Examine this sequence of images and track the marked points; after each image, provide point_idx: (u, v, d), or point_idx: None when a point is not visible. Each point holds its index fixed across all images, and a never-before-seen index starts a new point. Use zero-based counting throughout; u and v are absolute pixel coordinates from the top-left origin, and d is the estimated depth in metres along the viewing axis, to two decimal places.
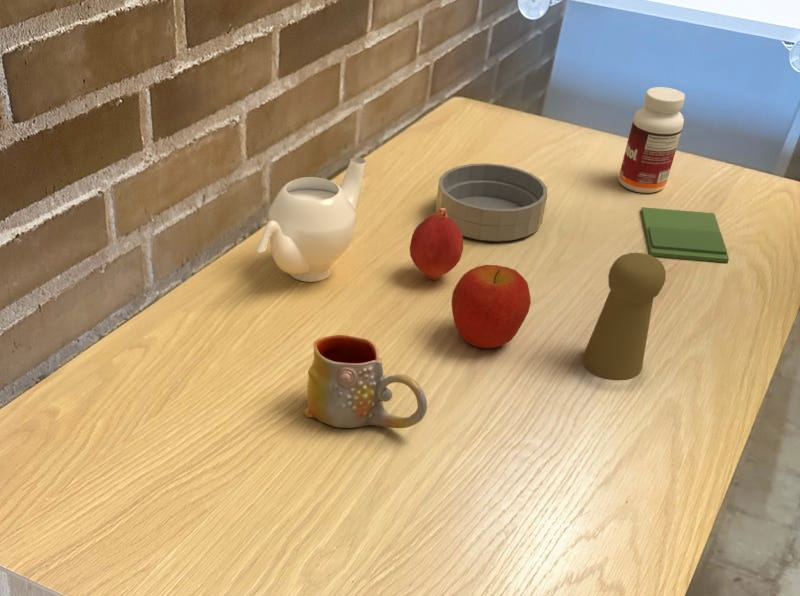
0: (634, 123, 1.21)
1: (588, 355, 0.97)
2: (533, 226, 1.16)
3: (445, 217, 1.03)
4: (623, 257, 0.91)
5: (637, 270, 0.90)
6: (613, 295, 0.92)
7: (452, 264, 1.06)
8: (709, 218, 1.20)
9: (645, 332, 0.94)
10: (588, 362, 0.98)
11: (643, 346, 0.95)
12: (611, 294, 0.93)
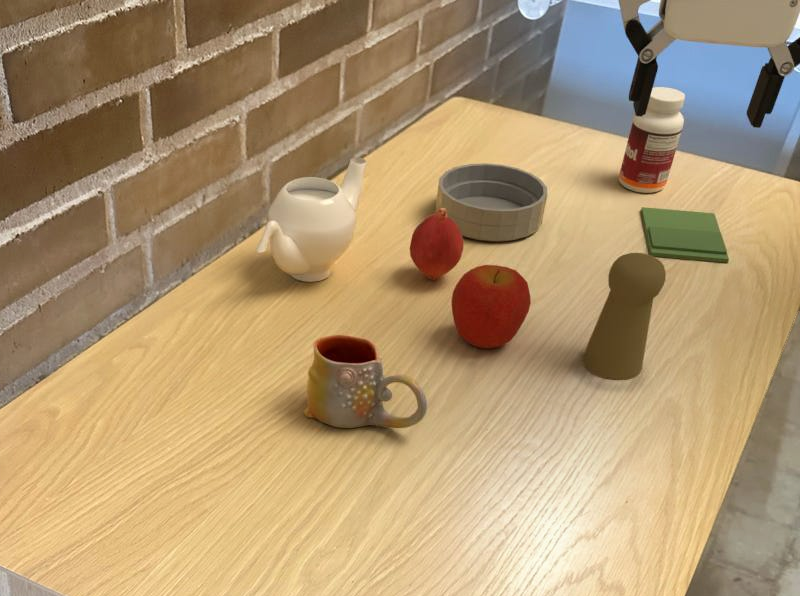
0: (634, 123, 1.21)
1: (588, 355, 0.97)
2: (533, 226, 1.16)
3: (445, 217, 1.03)
4: (623, 257, 0.91)
5: (637, 270, 0.90)
6: (613, 295, 0.92)
7: (452, 264, 1.06)
8: (709, 218, 1.20)
9: (645, 332, 0.94)
10: (588, 362, 0.98)
11: (643, 346, 0.95)
12: (611, 294, 0.93)
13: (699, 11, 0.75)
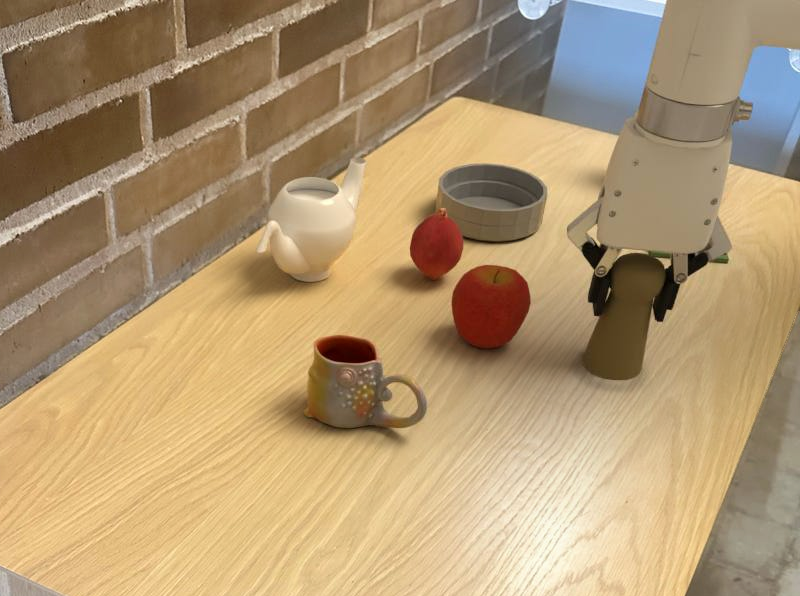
0: None
1: (588, 355, 0.97)
2: (533, 226, 1.16)
3: (445, 217, 1.03)
4: (623, 257, 0.91)
5: (637, 270, 0.90)
6: (613, 295, 0.92)
7: (452, 264, 1.06)
8: None
9: (645, 332, 0.94)
10: (588, 362, 0.98)
11: (643, 346, 0.95)
12: (611, 294, 0.93)
13: (626, 227, 0.86)
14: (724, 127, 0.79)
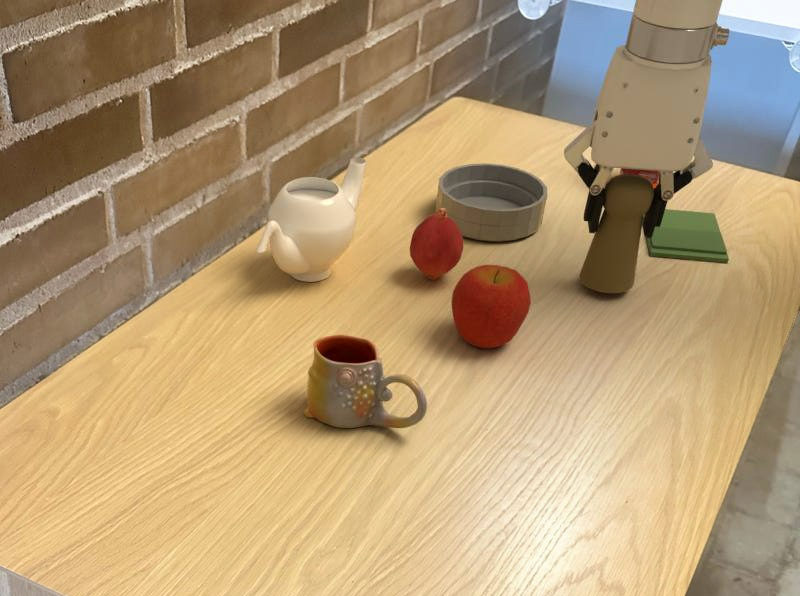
0: None
1: (585, 271, 1.07)
2: (533, 226, 1.16)
3: (445, 217, 1.03)
4: (615, 177, 1.01)
5: (628, 188, 0.99)
6: (606, 213, 1.02)
7: (452, 264, 1.06)
8: (709, 218, 1.20)
9: (636, 248, 1.04)
10: (584, 278, 1.07)
11: (634, 261, 1.05)
12: (605, 212, 1.02)
13: (617, 147, 0.96)
14: (704, 50, 0.89)
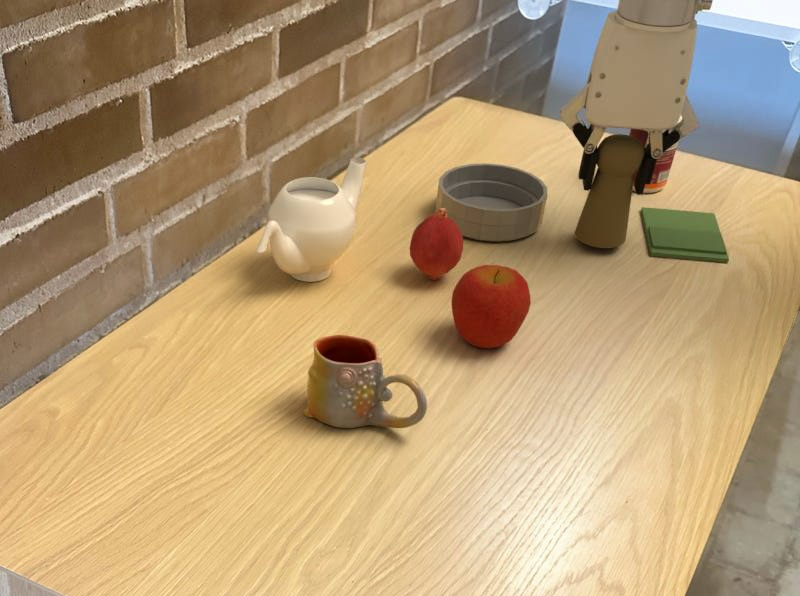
0: None
1: (580, 228, 1.14)
2: (533, 226, 1.16)
3: (445, 217, 1.03)
4: (608, 137, 1.07)
5: (620, 146, 1.06)
6: (600, 171, 1.09)
7: (452, 264, 1.06)
8: (709, 218, 1.20)
9: (628, 204, 1.11)
10: (579, 234, 1.14)
11: (626, 218, 1.12)
12: (598, 171, 1.09)
13: (610, 107, 1.03)
14: (689, 14, 0.96)
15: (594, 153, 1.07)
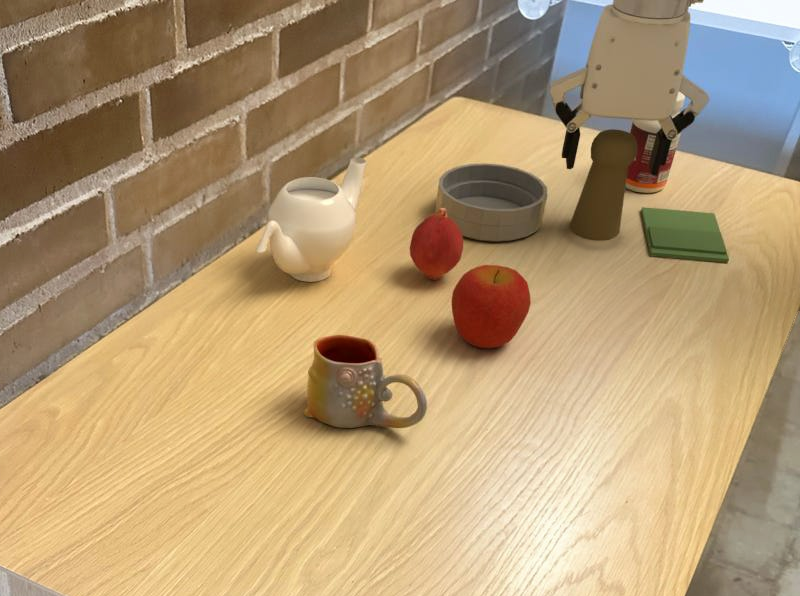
0: (634, 123, 1.21)
1: (575, 220, 1.17)
2: (533, 226, 1.16)
3: (445, 217, 1.03)
4: (602, 132, 1.11)
5: (613, 141, 1.09)
6: (594, 165, 1.12)
7: (452, 264, 1.06)
8: (709, 218, 1.20)
9: (621, 197, 1.14)
10: (574, 226, 1.17)
11: (620, 210, 1.15)
12: (593, 164, 1.13)
13: (606, 97, 1.06)
14: (682, 7, 0.99)
15: (576, 132, 1.10)
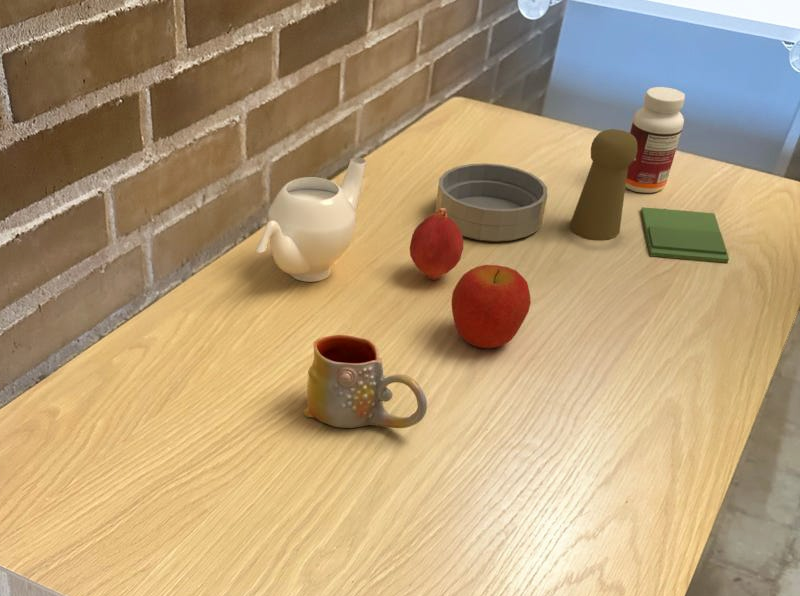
0: (634, 123, 1.21)
1: (575, 220, 1.17)
2: (533, 226, 1.16)
3: (445, 217, 1.03)
4: (602, 132, 1.11)
5: (613, 141, 1.09)
6: (594, 165, 1.12)
7: (452, 264, 1.06)
8: (709, 218, 1.20)
9: (621, 197, 1.14)
10: (574, 226, 1.17)
11: (620, 210, 1.15)
12: (593, 164, 1.13)
13: None
14: None
15: None
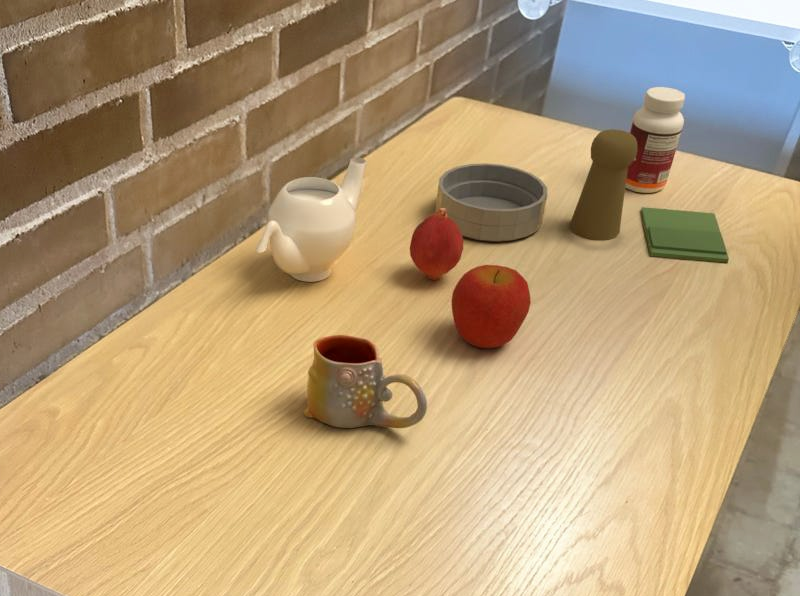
0: (634, 123, 1.21)
1: (575, 220, 1.17)
2: (533, 226, 1.16)
3: (445, 217, 1.03)
4: (602, 132, 1.11)
5: (613, 141, 1.09)
6: (594, 165, 1.12)
7: (452, 264, 1.06)
8: (709, 218, 1.20)
9: (621, 197, 1.14)
10: (574, 226, 1.17)
11: (620, 210, 1.15)
12: (593, 164, 1.13)
13: None
14: None
15: None
